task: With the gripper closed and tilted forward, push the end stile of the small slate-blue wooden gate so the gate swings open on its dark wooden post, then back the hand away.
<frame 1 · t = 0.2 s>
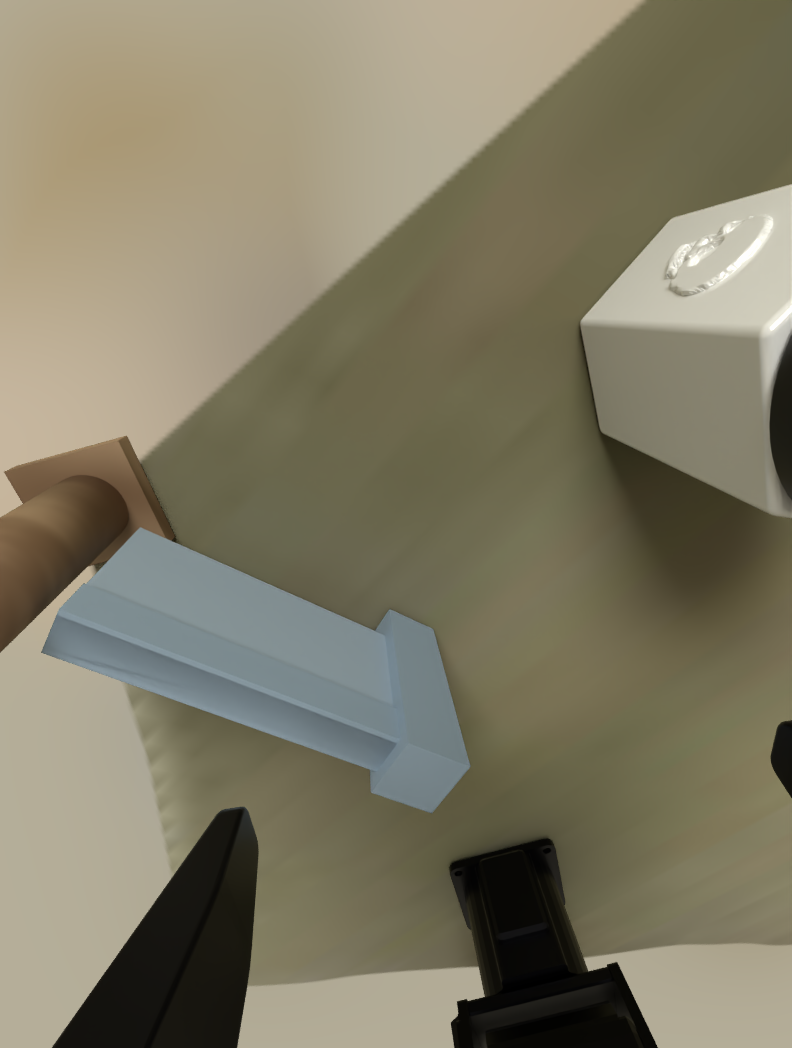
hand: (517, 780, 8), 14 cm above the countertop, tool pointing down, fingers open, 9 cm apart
gate: (284, 645, 19), point 4 cm above the countertop, hinge at 0.0°
hinge post: (99, 502, 20), on the countertop
jar: (680, 343, 20), on the countertop
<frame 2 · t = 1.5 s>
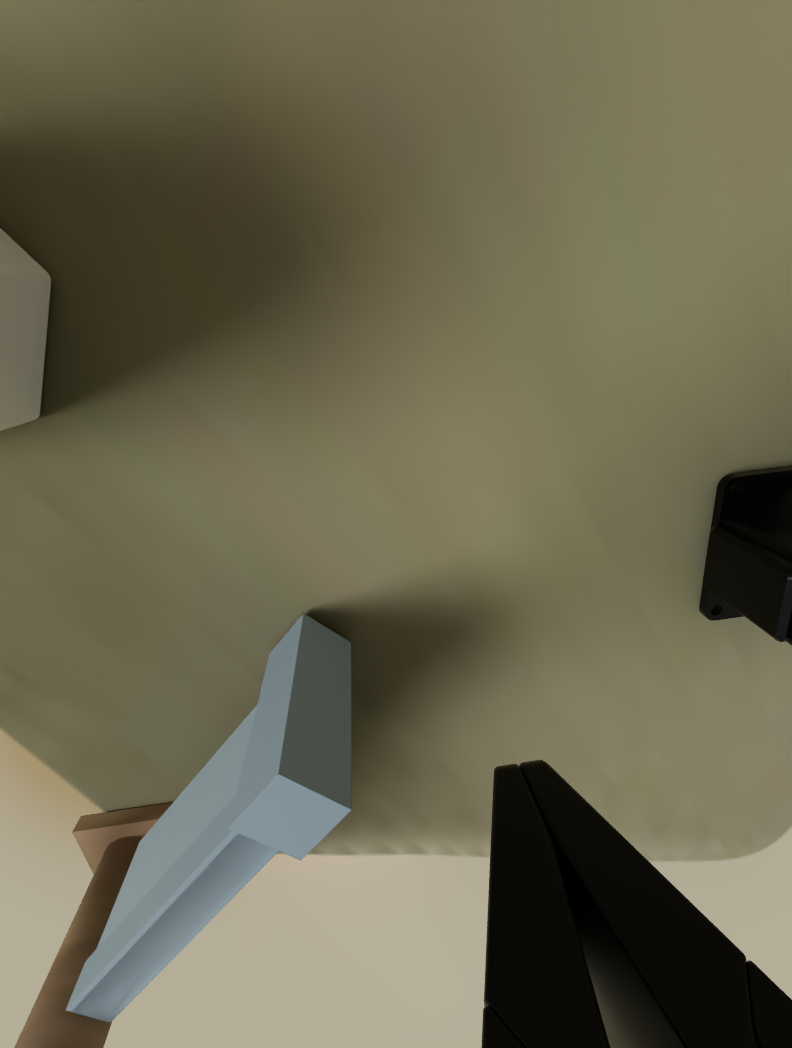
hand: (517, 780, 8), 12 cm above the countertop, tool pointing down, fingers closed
gate: (217, 810, 19), point 4 cm above the countertop, hinge at 0.0°
hinge post: (142, 840, 25), on the countertop
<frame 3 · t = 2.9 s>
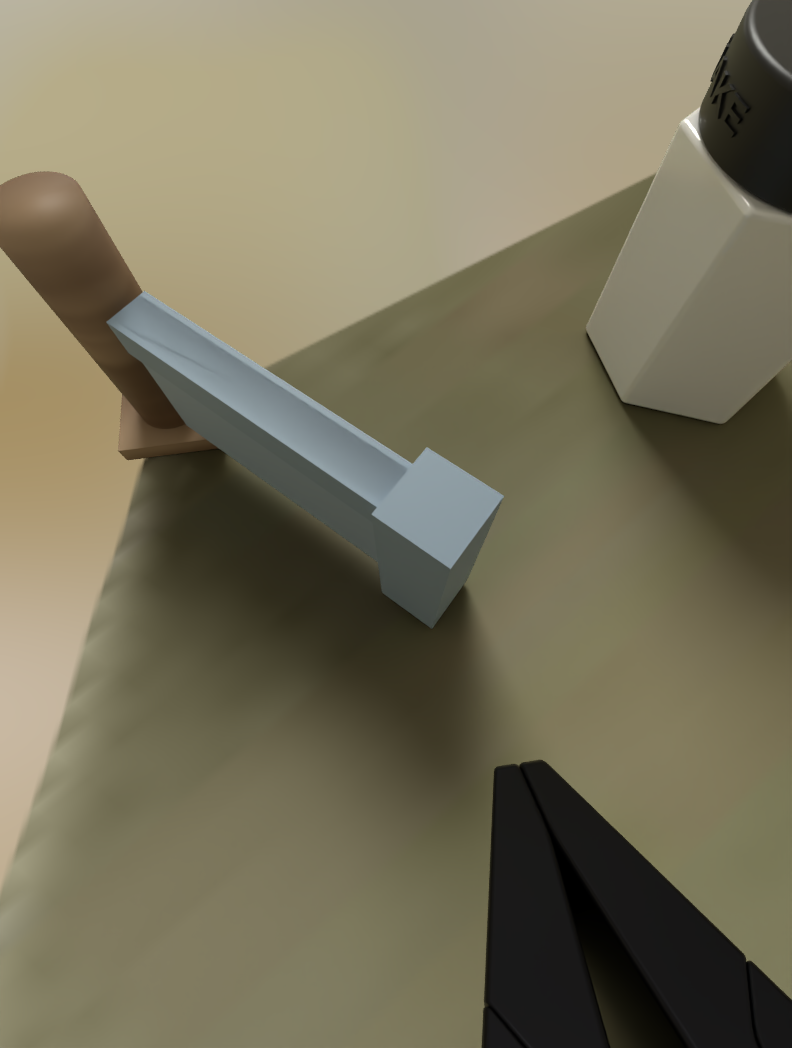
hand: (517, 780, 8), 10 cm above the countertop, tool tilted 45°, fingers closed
gate: (303, 467, 18), point 4 cm above the countertop, hinge at 0.0°
hinge post: (178, 412, 23), on the countertop
jar: (674, 353, 25), on the countertop
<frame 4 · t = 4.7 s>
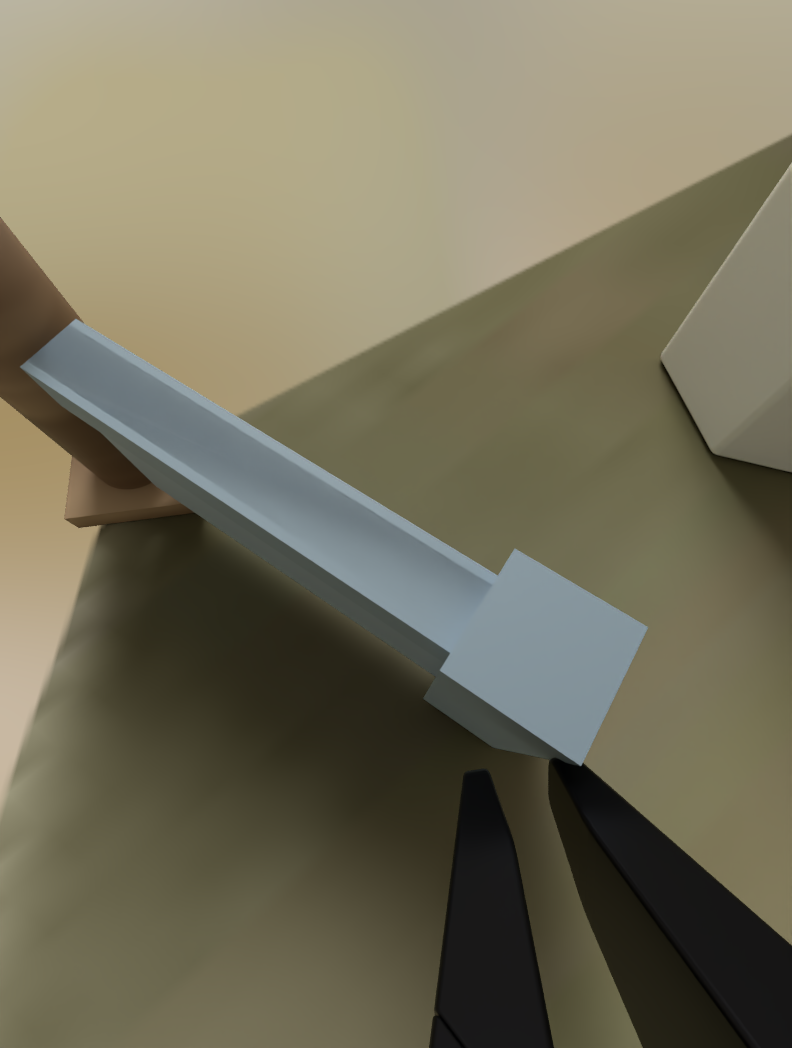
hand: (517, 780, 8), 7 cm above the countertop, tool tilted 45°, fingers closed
gate: (313, 550, 13), point 4 cm above the countertop, hinge at 3.4°, touching gripper
hinge post: (145, 464, 18), on the countertop
jar: (773, 388, 20), on the countertop
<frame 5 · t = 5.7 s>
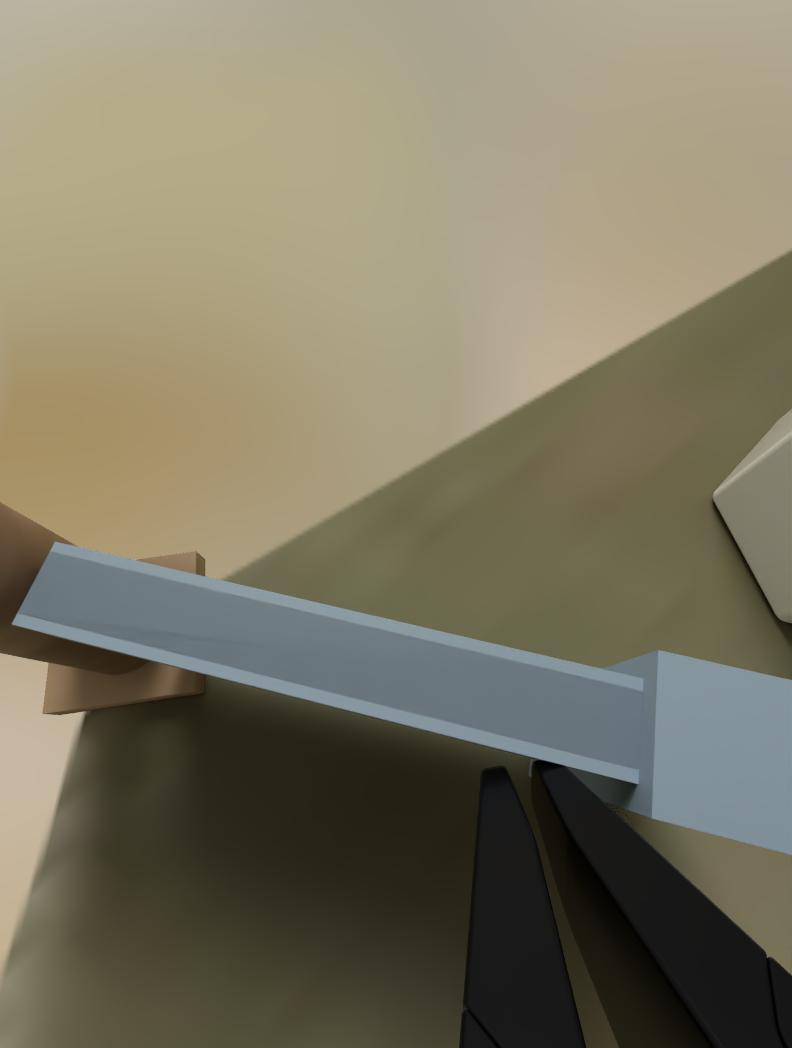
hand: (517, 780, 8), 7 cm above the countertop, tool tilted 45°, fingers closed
gate: (391, 685, 12), point 4 cm above the countertop, hinge at 23.5°, touching gripper
hinge post: (136, 632, 16), on the countertop
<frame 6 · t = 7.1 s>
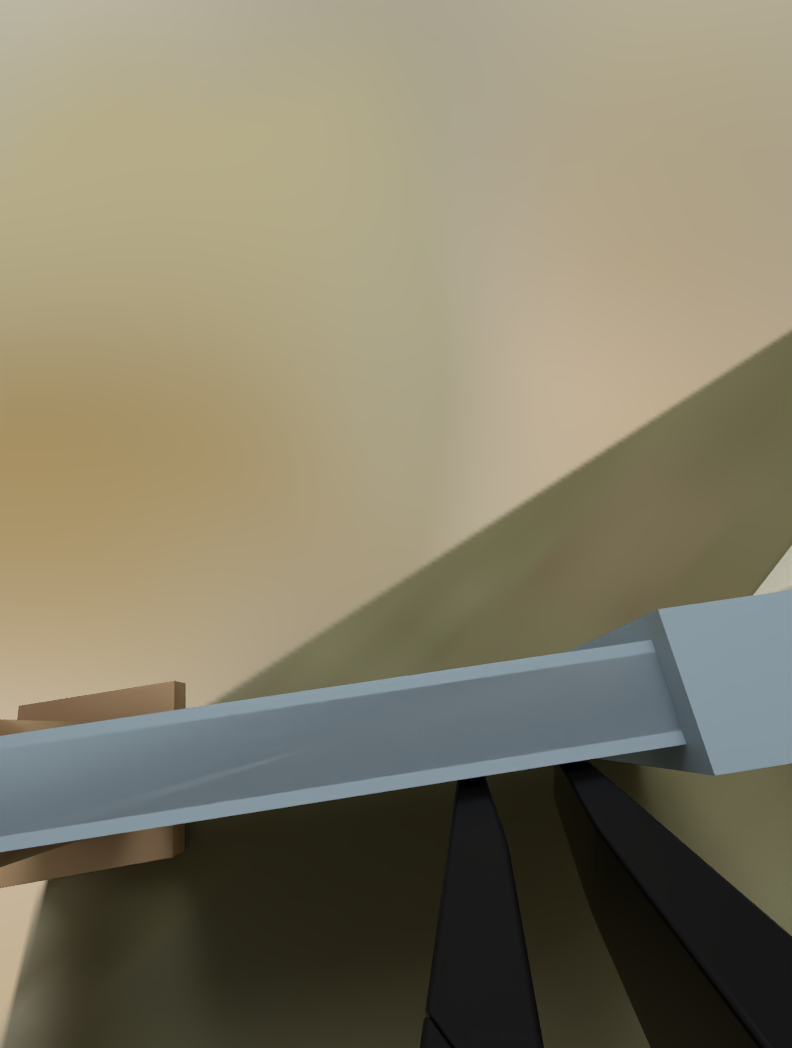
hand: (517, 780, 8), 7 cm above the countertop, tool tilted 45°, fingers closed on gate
gate: (406, 729, 11), point 4 cm above the countertop, hinge at 44.1°, touching gripper
hinge post: (107, 775, 14), on the countertop
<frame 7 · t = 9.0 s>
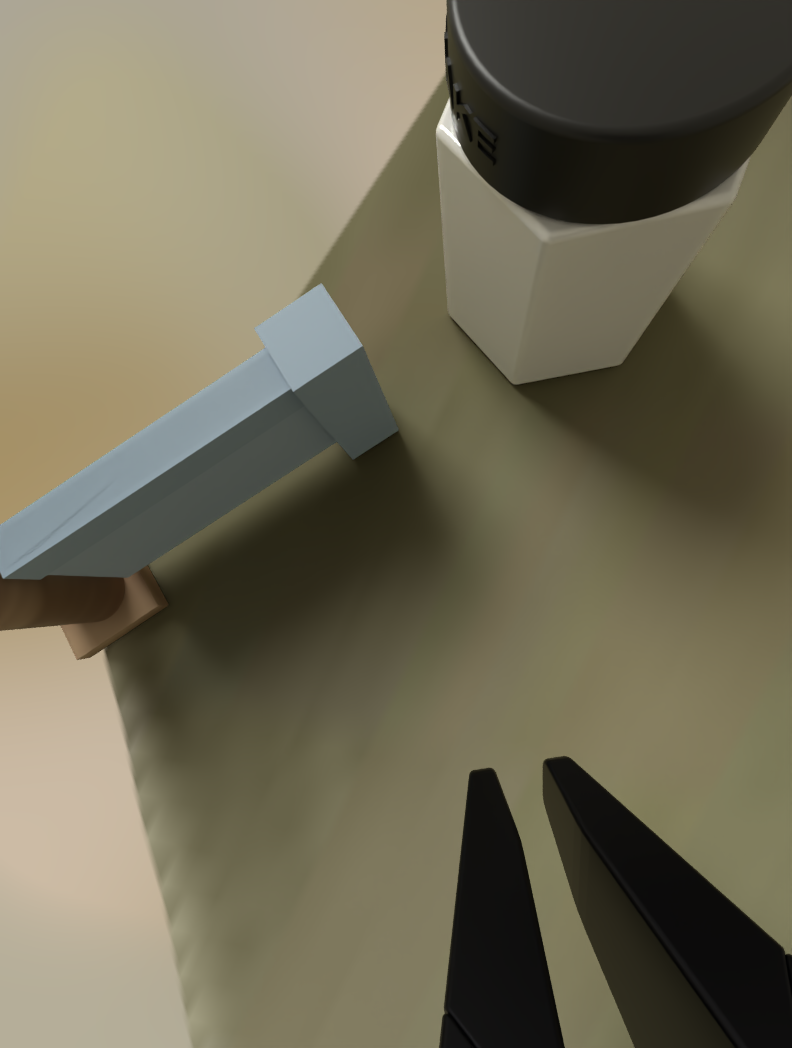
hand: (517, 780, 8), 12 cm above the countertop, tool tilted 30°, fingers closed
gate: (219, 468, 19), point 4 cm above the countertop, hinge at 44.1°
hinge post: (108, 590, 23), on the countertop
jar: (548, 296, 22), on the countertop
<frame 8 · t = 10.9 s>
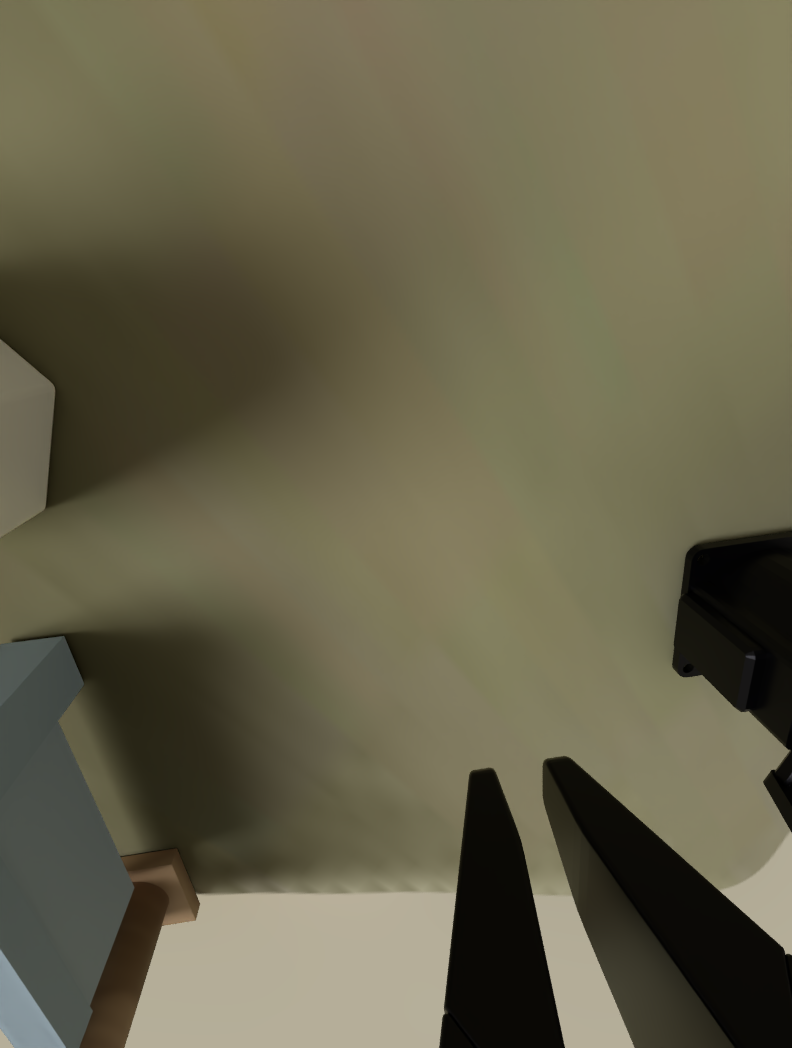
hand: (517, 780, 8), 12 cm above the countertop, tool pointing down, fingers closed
gate: (38, 849, 19), point 4 cm above the countertop, hinge at 44.1°
hinge post: (145, 883, 26), on the countertop
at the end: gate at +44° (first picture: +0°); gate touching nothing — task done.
